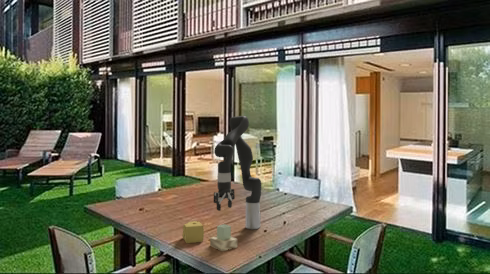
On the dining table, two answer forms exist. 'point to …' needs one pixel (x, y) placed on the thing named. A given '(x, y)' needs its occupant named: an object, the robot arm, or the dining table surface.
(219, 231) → the block
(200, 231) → the cheese
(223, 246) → the birch box
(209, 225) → the dining table surface
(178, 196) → the dining table surface
